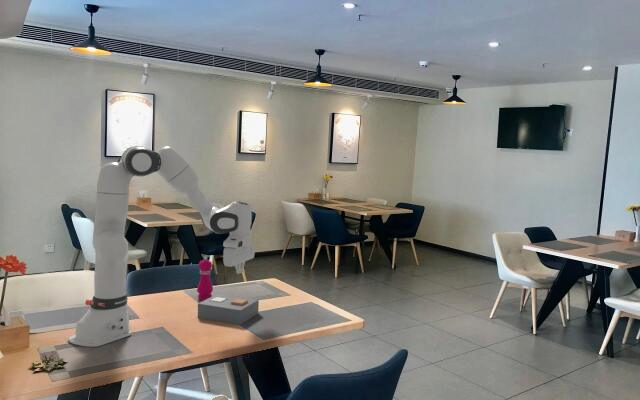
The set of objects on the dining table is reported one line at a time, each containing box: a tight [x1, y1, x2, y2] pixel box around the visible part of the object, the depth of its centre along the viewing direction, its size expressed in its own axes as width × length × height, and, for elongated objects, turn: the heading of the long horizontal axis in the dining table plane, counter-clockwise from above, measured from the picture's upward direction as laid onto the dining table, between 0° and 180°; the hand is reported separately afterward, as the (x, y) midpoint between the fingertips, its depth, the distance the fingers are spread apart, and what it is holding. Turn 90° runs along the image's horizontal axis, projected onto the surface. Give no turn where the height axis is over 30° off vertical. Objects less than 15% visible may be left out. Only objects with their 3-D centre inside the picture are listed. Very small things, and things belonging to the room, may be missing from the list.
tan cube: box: [231, 299, 248, 306], centre depth 215 cm, size 5×5×5 cm
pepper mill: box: [196, 256, 214, 301], centre depth 239 cm, size 7×7×20 cm
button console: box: [197, 293, 260, 325], centre depth 217 cm, size 16×20×6 cm
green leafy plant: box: [30, 351, 65, 371], centre depth 163 cm, size 12×12×5 cm
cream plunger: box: [210, 297, 227, 303], centre depth 219 cm, size 5×5×5 cm
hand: (239, 272), depth 214 cm, fingers closed
